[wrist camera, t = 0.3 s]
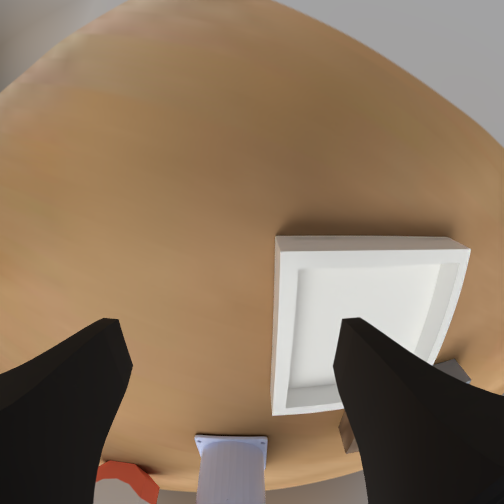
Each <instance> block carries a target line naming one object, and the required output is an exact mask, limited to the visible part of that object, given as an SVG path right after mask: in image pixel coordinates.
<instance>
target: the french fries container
mask: <svg viewBox="0 0 504 504" xmlns="http://www.w3.org/2000/svg"><path fill="white" fill-rule="evenodd" d="M159 488H160V487H159V486H158V485H157V484H156V483H155V482H154V481H153V479H152V478H151V477H150V476H149V475H148V474H147V473H146V472H144V471H143V470H142V469H140V468H139V467H138V466H137V465H135V464H131V463H124V462H117V461H111V460H109V461H108V462H106V463H104V464H102V465H101V466H99V467H98V471H97V477H96V483H95V490H94V502H93V504H156V502H157V498H158V493H159Z"/></svg>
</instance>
